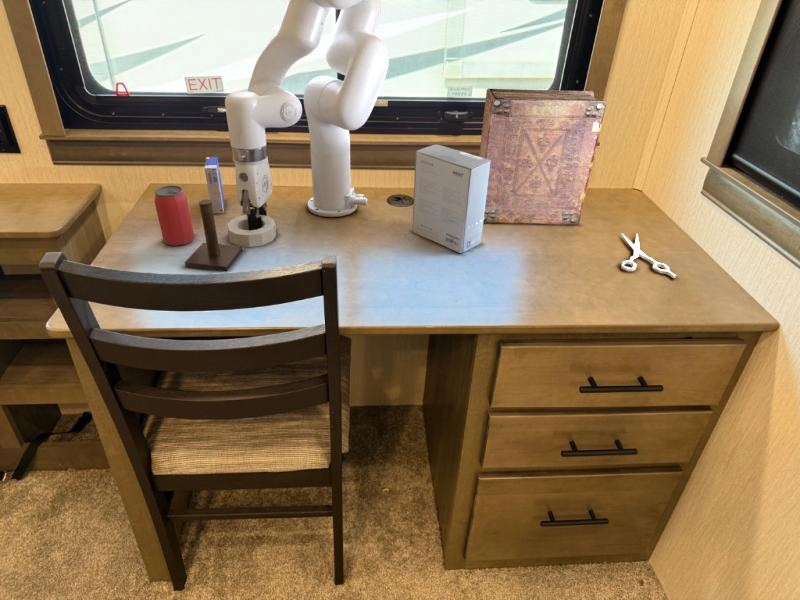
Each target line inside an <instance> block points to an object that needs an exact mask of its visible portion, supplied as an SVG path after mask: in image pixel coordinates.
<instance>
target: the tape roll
mask: <svg viewBox="0 0 800 600" xmlns="http://www.w3.org/2000/svg"><path fill="white" fill-rule="evenodd" d="M260 216H261V218H262V226H263V227H262V228H260V229H257V230H250V231H249V226H248V219H247V216H246V214H243V215H240V216H237V217H235V218H232V219H231V220H230V221H229V222H228V223H227V224H226V228H227V234H228V239H229V242H230V243H231V244H233V245H234V246H242V247H244V248H245V247H247V248H254V247H261V246H264V245H267V244H268V243H271V242H273V241H274V239H275V238H276V236H277V228H276V227H277V226H276V222H275V220H274V219H273V218H272V217H270V216H268V215H267V216H265V215H260Z"/></svg>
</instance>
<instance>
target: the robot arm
mask: <svg viewBox="0 0 800 600" xmlns="http://www.w3.org/2000/svg"><path fill="white" fill-rule="evenodd" d="M332 9H334V10H340V11H339V15H338V18H337V20H336V22H335V26H334V28H333V31H332V33H331V36H330V39H329V41H328V44H327V48H326V50H325V51H326V52H325V60H326V63H327V65H328V66H329V68H331V69H332V70H333V71H334V72H336V73H338V74H341V75H343V76H344V79H343V80H342V79H338V78H336V77H334V76H333V77H332V76H329V75H320V76H316V77H314V78H312V79H311V80H310V81H309V82H308V83H307V85H306V86H305V88H304V91H303V105H302V103H301V100H300V99H299V98H298V97H297V96H296V95H295V94H294V93H292V92H291V91H288V90H286V89H284V88H281V87H282V85H283V82H284V79H285V77H286V75H287V73H288V71H289V70H290V68H291V67H292V66H293V65H294V64H295V63H297V62H298V61H299V60H301V59H303V58H305V57H307V56H309V55H311V54H312V53H314V52H316V51H317V49H318V48H319V45H320V43H321V40H322V36H323V33H324V30H325V27H326V24H327V21H328V18H329V15H330V13H331V10H332ZM381 13H382V0H288V1H287V4H286V7H285V10H284V13H283V16H282V19H281V22H280V25H279V28H278V31H277V32H276V34H275V35H274V36H273V37H272V39H271V40H269V43H268V44H267V45H266V47H265V48H264V49H263V51H262V52H261V54H260V55H259V56H258V58H257V60H256V62H255V65H254V67H253V71H252V73H251V76H250V80H249V84H248V88H247V91H244V90H243V91H241V90H240V91H235V92H231V93H228V94H227V95H226V97H225V99H224V108H225V114H226V122H227V128H228V135H229V143H230V152H231V157H232V162H234V165H235V166H234V168H235V169H234V170H235V171H234V172H235V187H236V195H237V200H238V204H239V206H240V207H242V214H243V215H246V216H247V219H248V226H249V231H250V230H257V229H260V228H262V227H263V226H262V218H261V216H260V215H265V216H267V217H268V211H267V206H268V205H267V201H268V199H269V198H270V197H271V196H272V194H273V192H274V188H273V181H272V173H271V168H270V163H269V160H268V159H269V157H268V156H269V155H268V147H267V135H266V129H267V128H278V129H279V128H288V127H291V126H294V125H296V124H297V123H298V122H299V120H301V118H302V115H303V106H304V112H305V116H306V120H307V125H308V126H307V127H308V133H309V147H310V149H309V150H310V165H311V180H312V181H311V182H312V197H311V198H310V199H309V200H308V201H307V209H308V211H309V212H311V213H312V214H314V215H317V216H320V217H324V218H327V217H328V218H337V217H343V216H347V215H350V214H352V213H354V212H355V211H356V210H357V208H358V205H359V206H368V202H369V201H368V200H369V199H368V197H365V194H362V193H361V194H360V193H359V194H357V193H356V192H355V188H354V187H352V185H351V184H352V181H351V180H352V179H351V138H350V137H351V136H350V131H356V130H358V129H360V128H362V127H363V126H364V125H365V123H366V122H367V121H368V119H369V117H370V116H371V113H372V111H373V109H374V107H375V105H376V102H377V99H378V97H379V94H380V93H381V89H382V87H383V84H384V82H385V79H386V77H387V74H388V70H389V66H390V65H389V64H390V54H389V50H388V47H387V45H386V43H385V42H384V40H382V39H381V38H379V36H376V35H375V33H376V30H377V26H378V24H379V21H380V17H381Z"/></svg>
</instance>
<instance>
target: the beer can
mask: <svg viewBox="0 0 800 600" xmlns="http://www.w3.org/2000/svg"><path fill="white" fill-rule="evenodd" d="M183 189H184V188H182V187H181V186H179V185H164V186H160V187H159V188H156V189H155V191H154V194H155V195H154V206H155V210H156V215H157V219H158V224H159V228H160V232H161V236H162V240H163V242H164V243H165V244H166V245H168V246H171V247H172V246H173V247H180V246H185V245H188V244H189V243H191V242H192V241H193V240H194V238H195V232H194V227H193V221H192V216H191V212H190V207H189V202H188V197H187V195H186V194H185V191H184V190H183Z"/></svg>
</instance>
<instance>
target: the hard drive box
mask: <svg viewBox="0 0 800 600" xmlns="http://www.w3.org/2000/svg"><path fill="white" fill-rule="evenodd" d="M414 155H415V156H414V179H413V181H414V182H413V205H412V228H411V232H412V233H414V234H417V235H419V236H420V237H423V238H424V239H428V240H430V241H432V242H434V243H437V244H439V245H441V246H442V247H443V246H444V247H446V248H447V249H450V250H452V251H454V252H457V253H459V254H464V253H466V252H467V251H470V250H471V249H473V248H475V247H477V246H478V245H480V244H482V237H483V227H484V223H483V221H484V212H485V204H486V196H487V187H488V178H489V170H490V162H491V160H488V159H484V158H481V157H479V156H478V155H475V154H471V153H468V152H465V151H461V150H458V149H454V148H450V147H448V146H443V145H440V144H437V143H435V144H432V145H429V146H426V147H423V148H421V149H418V150H415V154H414Z"/></svg>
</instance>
